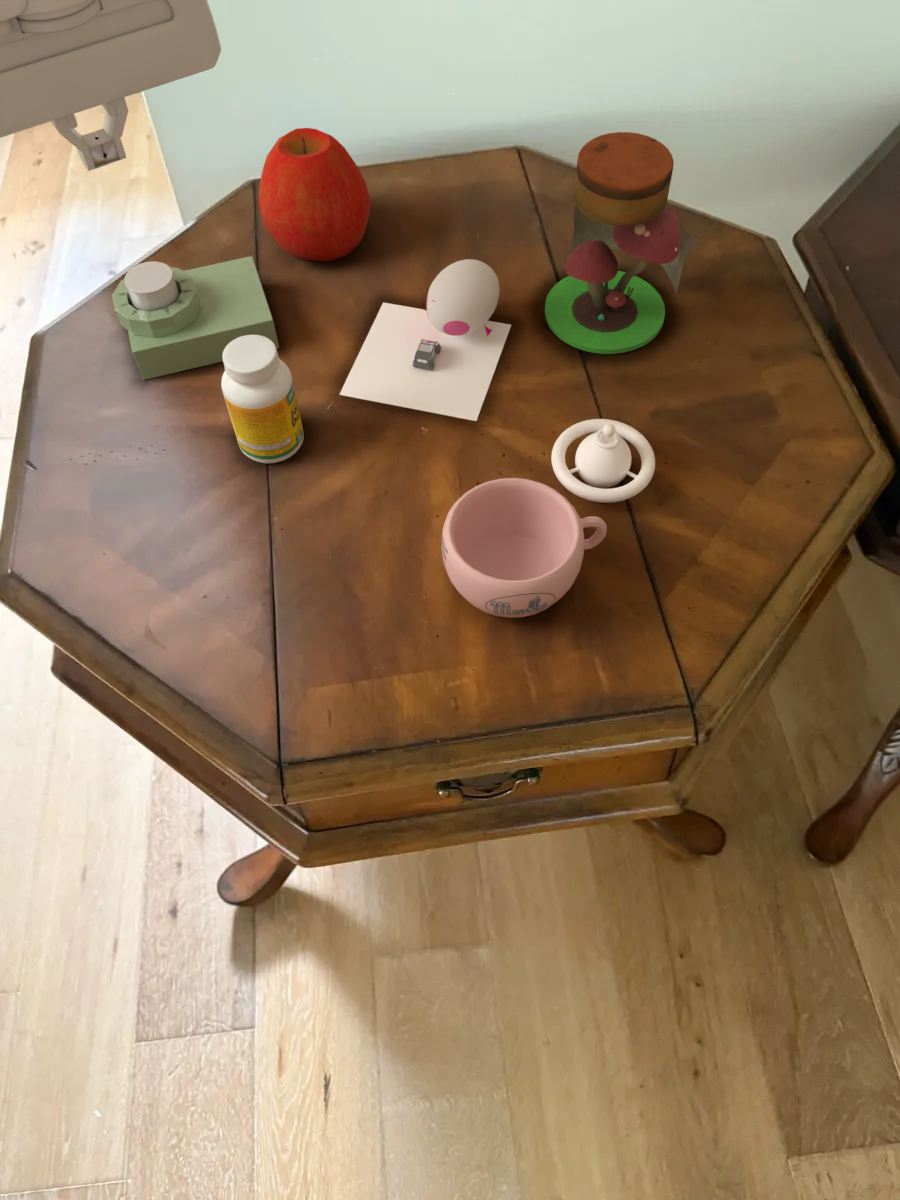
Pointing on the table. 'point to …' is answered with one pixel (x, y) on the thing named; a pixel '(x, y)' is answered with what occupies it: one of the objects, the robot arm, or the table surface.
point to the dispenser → (197, 318)
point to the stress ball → (462, 297)
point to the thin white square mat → (425, 364)
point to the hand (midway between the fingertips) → (104, 161)
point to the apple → (313, 196)
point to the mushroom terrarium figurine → (618, 246)
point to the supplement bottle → (261, 400)
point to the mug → (515, 546)
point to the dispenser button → (151, 286)
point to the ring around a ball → (603, 460)
